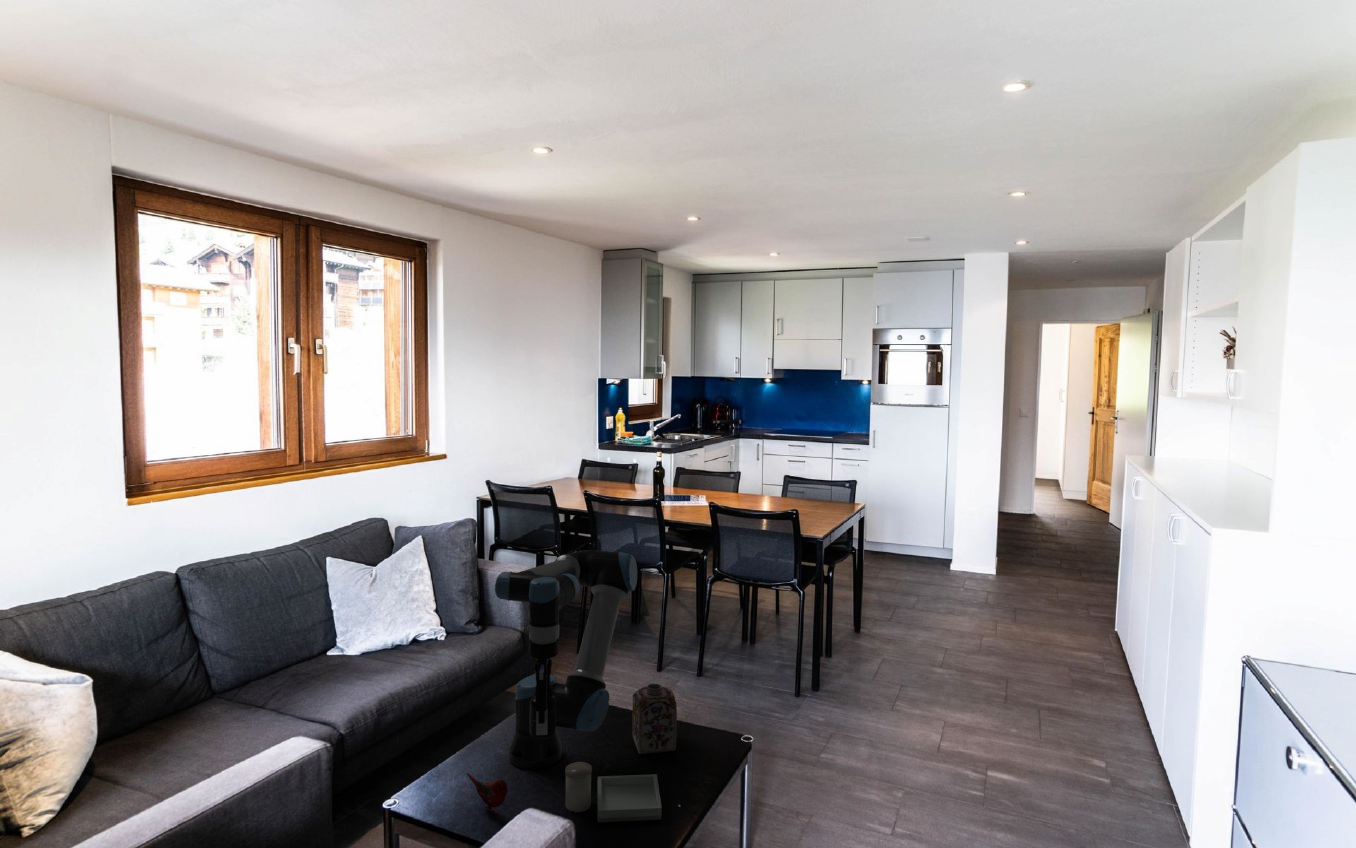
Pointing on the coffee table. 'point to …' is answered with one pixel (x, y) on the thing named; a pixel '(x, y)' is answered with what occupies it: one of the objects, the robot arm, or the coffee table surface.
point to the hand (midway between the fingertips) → (543, 727)
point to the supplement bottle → (550, 716)
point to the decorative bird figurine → (491, 792)
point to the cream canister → (578, 786)
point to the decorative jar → (654, 719)
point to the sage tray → (628, 798)
